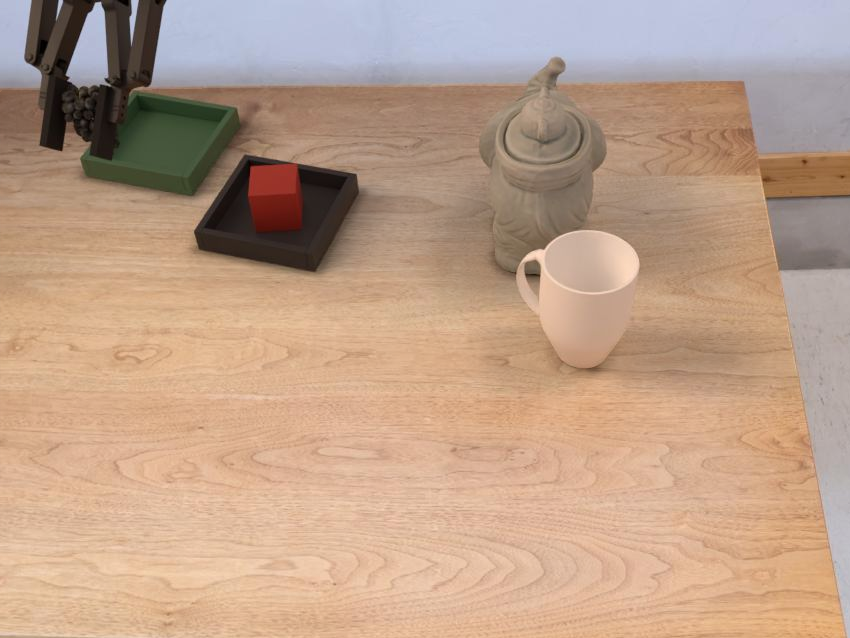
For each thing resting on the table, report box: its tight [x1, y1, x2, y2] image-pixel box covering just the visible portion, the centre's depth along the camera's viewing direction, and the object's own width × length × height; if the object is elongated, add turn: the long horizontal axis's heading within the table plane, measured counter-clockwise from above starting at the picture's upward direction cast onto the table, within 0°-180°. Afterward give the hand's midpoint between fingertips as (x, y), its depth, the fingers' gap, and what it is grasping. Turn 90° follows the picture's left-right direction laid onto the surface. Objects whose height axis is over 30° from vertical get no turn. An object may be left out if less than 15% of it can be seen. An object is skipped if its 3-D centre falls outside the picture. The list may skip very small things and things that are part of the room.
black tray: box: [193, 154, 360, 273], centre depth 123 cm, size 14×14×3 cm
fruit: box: [61, 83, 120, 156], centre depth 107 cm, size 5×4×8 cm
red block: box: [248, 164, 303, 232], centre depth 121 cm, size 5×5×5 cm
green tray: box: [79, 89, 242, 197], centre depth 131 cm, size 14×14×3 cm
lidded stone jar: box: [478, 56, 608, 276], centre depth 114 cm, size 16×15×19 cm
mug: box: [515, 229, 640, 369], centre depth 106 cm, size 12×9×12 cm
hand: (75, 152), depth 106 cm, fingers closed on fruit, 5 cm apart
